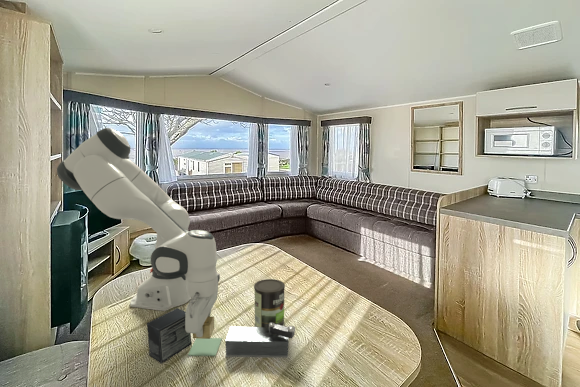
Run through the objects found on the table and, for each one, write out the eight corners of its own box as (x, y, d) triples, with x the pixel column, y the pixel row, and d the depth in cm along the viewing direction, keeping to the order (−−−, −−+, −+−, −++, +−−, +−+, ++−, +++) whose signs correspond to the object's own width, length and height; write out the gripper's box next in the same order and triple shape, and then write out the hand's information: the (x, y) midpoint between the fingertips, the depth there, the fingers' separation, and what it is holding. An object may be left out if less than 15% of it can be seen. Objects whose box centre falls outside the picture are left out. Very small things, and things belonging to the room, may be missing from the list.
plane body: (225, 356, 91) (225, 341, 90) (230, 341, 98) (230, 326, 97) (288, 358, 90) (288, 342, 90) (288, 342, 98) (288, 327, 97)
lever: (293, 341, 89) (293, 330, 89) (267, 334, 93) (267, 323, 92) (296, 337, 91) (296, 326, 91) (270, 330, 95) (270, 320, 94)
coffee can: (290, 321, 109) (290, 283, 107) (273, 336, 100) (273, 295, 98) (266, 312, 114) (266, 276, 112) (248, 326, 106) (247, 287, 104)
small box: (179, 337, 100) (177, 306, 98) (192, 344, 96) (191, 313, 94) (147, 355, 91) (145, 322, 89) (161, 364, 87) (159, 329, 86)
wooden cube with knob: (209, 338, 91) (209, 324, 91) (192, 338, 91) (192, 323, 91) (214, 328, 96) (214, 314, 96) (198, 328, 96) (197, 314, 96)
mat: (187, 355, 91) (187, 354, 91) (196, 338, 99) (196, 337, 99) (215, 356, 91) (215, 355, 91) (221, 339, 99) (221, 338, 99)
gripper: (202, 303, 81) (203, 352, 83) (221, 272, 101) (222, 311, 103) (177, 303, 81) (180, 351, 83) (201, 271, 102) (203, 311, 104)
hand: (203, 329), depth 94 cm, fingers closed on wooden cube with knob, 5 cm apart
